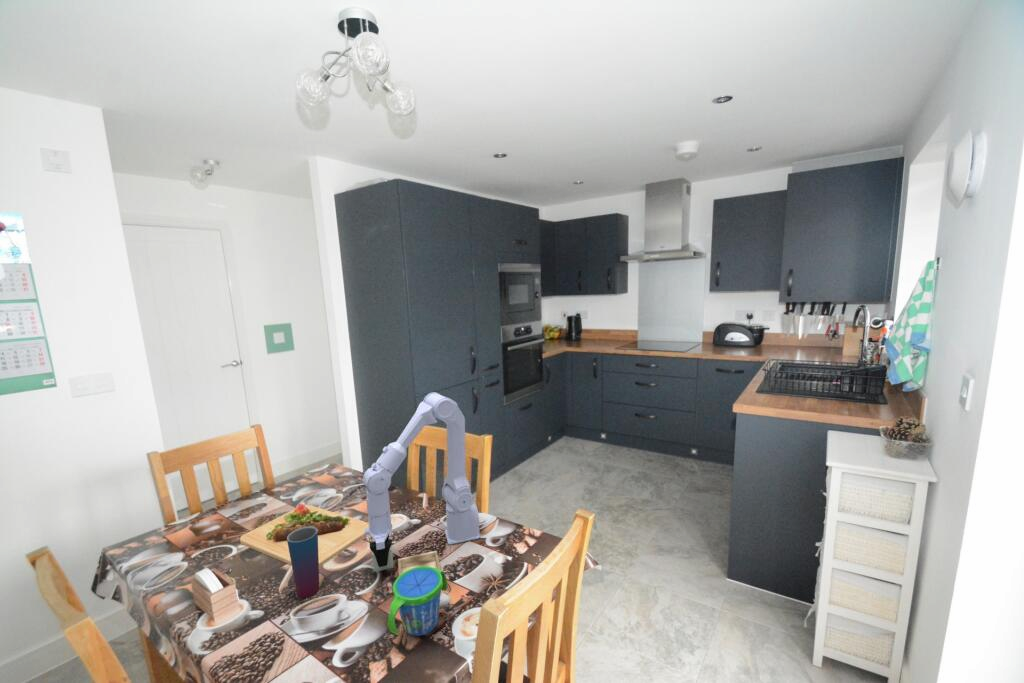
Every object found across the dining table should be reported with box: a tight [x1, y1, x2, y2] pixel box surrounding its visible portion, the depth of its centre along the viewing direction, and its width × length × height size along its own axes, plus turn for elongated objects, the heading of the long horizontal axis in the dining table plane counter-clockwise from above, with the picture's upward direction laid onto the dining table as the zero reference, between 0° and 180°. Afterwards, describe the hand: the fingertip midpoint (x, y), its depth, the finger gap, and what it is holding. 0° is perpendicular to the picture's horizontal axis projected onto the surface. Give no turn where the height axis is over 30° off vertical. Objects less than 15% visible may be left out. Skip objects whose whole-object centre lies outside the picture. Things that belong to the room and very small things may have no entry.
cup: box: [287, 527, 320, 599], centre depth 103 cm, size 7×7×15 cm
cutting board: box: [239, 503, 369, 568], centre depth 128 cm, size 35×23×8 cm
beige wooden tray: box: [397, 550, 442, 577], centre depth 106 cm, size 10×10×3 cm
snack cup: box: [387, 566, 449, 637], centre depth 90 cm, size 16×10×10 cm
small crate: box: [371, 544, 394, 573], centre depth 112 cm, size 5×5×5 cm
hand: (383, 559), depth 112 cm, fingers closed on small crate, 5 cm apart
